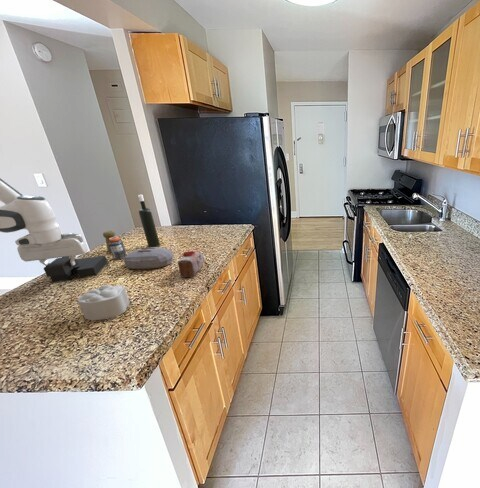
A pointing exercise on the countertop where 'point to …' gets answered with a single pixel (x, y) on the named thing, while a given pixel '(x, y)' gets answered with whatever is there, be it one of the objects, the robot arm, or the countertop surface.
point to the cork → (108, 235)
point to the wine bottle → (148, 224)
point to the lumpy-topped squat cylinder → (104, 302)
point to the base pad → (84, 268)
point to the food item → (190, 263)
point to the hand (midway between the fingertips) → (61, 266)
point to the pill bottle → (117, 248)
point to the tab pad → (59, 267)
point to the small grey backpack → (148, 258)
